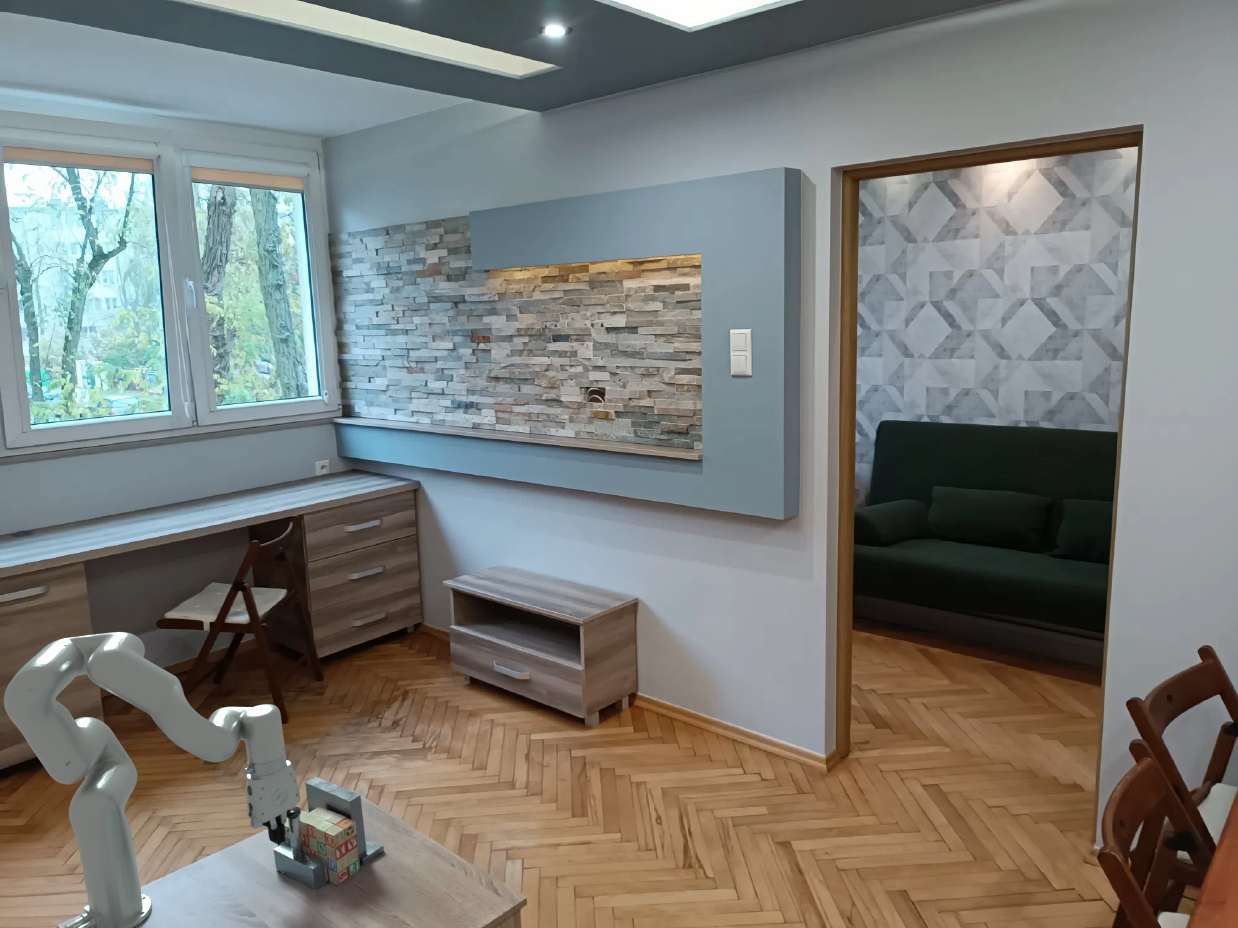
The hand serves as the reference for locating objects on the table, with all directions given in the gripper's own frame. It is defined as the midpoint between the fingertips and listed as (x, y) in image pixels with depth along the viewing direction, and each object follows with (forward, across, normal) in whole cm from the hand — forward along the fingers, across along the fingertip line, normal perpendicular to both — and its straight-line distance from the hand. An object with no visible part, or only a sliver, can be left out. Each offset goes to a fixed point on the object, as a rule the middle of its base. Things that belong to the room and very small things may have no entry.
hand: (278, 840), depth 192 cm
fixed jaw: (+11, +17, 0) cm, 20 cm away
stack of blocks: (+12, +10, +1) cm, 15 cm away
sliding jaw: (+11, +4, 0) cm, 12 cm away
